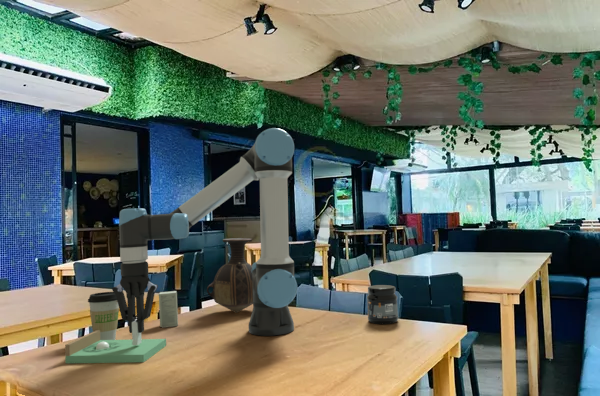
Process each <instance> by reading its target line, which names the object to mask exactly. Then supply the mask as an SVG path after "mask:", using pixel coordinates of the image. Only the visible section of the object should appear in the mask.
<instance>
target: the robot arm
mask: <svg viewBox="0 0 600 396" xmlns="http://www.w3.org/2000/svg"><path fill="white" fill-rule="evenodd" d="M294 154H295V143H294V139H293V138H292V136H291V134H289V133H288V132H287V131H285V130H284V129H281V128H276V127H272V128H267V129H265V130H263V131H262V132H260V133H259V134H258V135H257V137H256V138H255V142H254V143H253V145H252V146H251V148H250V149H249V150H248V151H247V152H246V153H244V154H243V155H242V156H240V158H239V162H238V163H236V164H235V165H233V166H232V167H231V168H229V169H228V170H227V171H225V172H224V173H223V174H222V175H220V176H219V177H217V178H216V179H215V180H213V181H212V182H211V183H210V184H208V185H207V186H205V187H204V188H202V189H201V190H200V191H198V192H196V194H194V195H193V196H192V197H190V198H189V199H188V200H186V201H185V202H184V203H183V204H181V205H179V207H177V208H175V209H174V210H173V211H172V212H170V213H163V214H162V213H161V214H160V213H159V214H148V213H147V210H146V208H141V207H139V208H124V209H121V210H120V211H119V218H118V219H119V220H118V222H119V224H118V229H119V255H120V257H119V259H120V262H122V263H121V264H120V276H121V278H120V281H119V283H118V284H117V285H116V286H113V287H112V288H111V289H112V292H114V293H115V295H116V298H117V302H118V305H119V313H120V316H121V319H122V321H127V322H128V332H129V333H130V334H131V337H132V345H139V344H140V343H142V339H143V338H142V333H143V332H144V331H145V320H146V319H147V320H148V318H150V317H151V313H152V309H153V303H154V298H155V293H156V291H157V289H158V288H159V285H158V284H157V283H156V284H154V283H152V282H151V279H150V278H149V262H148V261H147V260H148V257H149V255H148V253H149V252H148V241H154V240H155V241H156V240H157V241H159V240H180V239H186V238H188V237H189V235H190V229H191V228H192V226H194V225H195V224H197V223H198V222H199V221H201V220H202V219H203V218H205V217H206V216H207V215H209V214H210V213H211V212H213V211H214V210H215V209H217V208H218V207H219V206H221V205H222V204H223V203H225V202H226V201H228V200H229V199H230V198H231V197H232V196H234V195H236V194H237V193H238V192H240V191H241V190H243V189H244V188H245V187H246V186H248V185H249V184H250V183H251V182H253V181H259V206H260V207H259V209H260V210H259V211H260V212H259V214H260V215H259V216H260V217H259V218H260V219H259V221H260V226H259V227H260V257H259V259H257V260H256V262H253V264H251V265H252V271H251V272H252V283H253V304H252V305H253V306H252V311H251V315H250V318H249V322H248V333H249V334H251V335H255V336H263V337H264V336H265V337H272V336H280V335H282V336H283V335H286V334H289V333H291V332H293V331H294V330H295V323H294V320H293V317H292V315H291V314H292V313H291V311H290V308H289V304H291V303H292V302H293V300H294V299H295V297H296V296H297V292H298V283H297V280H296V277H295V261H294V260H293V259H292V258H291V256H290V247H289V245H290V244H289V243H290V242H289V202H288V201H289V198H288V197H289V196H288V195H289V194H288V193H289V192H288V191H289V190H288V178H289V177H290V176H291V175H292V174H293V155H294ZM146 290H147V294H146V300H145V298H144V297H145V291H146ZM124 291H125V292H124ZM125 293H126V295H125ZM125 296H126V297H125Z"/></svg>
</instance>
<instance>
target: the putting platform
mask: <svg viewBox="0 0 600 396" xmlns="http://www.w3.org/2000/svg"><path fill="white" fill-rule="evenodd" d="M103 341H104V342H107V343H108V344H109V348H106V349H101V350H96V346H97V344H98V343H100V342H103ZM166 346H167V338H148V339H147V338H142V343H140V344H139V345H132V339H115V340H100V330H96V331H94V332H93V331H92V332H90V333H87V334H85V335H83V336H81V337H79V338H77V339H74V340H72V341H70V342H68V343H66V344H65V346H64V349H65V350H64V351H65V354H64V355H65V359H64V361H65V364H100V363H101V364H103V363H104V364H108V363H109V364H110V363H112V364H113V363H119V364H120V363H124V364H125V363H145V362H146V361H147V360H149V359H150V358H151V357H153V356H154V355H155V354H157V353H158V352H160V351H161V350H162V349H164V348H165V347H166Z"/></svg>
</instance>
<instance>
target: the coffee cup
mask: <svg viewBox="0 0 600 396" xmlns="http://www.w3.org/2000/svg"><path fill="white" fill-rule="evenodd" d="M87 302H88V303H89V314H90V315H89V316H90V321H91V328H92V329H91V330H92V332H94V331H96V330H100V340H117V339H116V336H117V328H118V321H119V313H120V309H119V305H118V302H117V298H116V295H115V293H114V292H113V291H105V292H104V291H103V292H95V293H92V294H90V295H89V298H88V299H87Z"/></svg>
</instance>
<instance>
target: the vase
mask: <svg viewBox="0 0 600 396" xmlns="http://www.w3.org/2000/svg"><path fill="white" fill-rule="evenodd" d="M222 242H223V243H226V242H227V243H228V245H229V247H230V258H229V261H228V262H227V263H225V264H223V265H222V266H221V267H220V268H218V270H217V272H216V274H215V276H214V279H213V281H212V282H211V283H210V284H209V285H207V287H206V292H207V295H209V297H211V298H212V299H213V300H214V302H215V303H216V304H218V305H220V306H222V307H224V308H226V309H227V310H229V311H231V312H233V313H235V314H236V313H237V314H238V313H240V312H241V311H243V310H245V309H247V308H248V307H251V306H252V305H253V283H252V272H251V271H252V265H253V264H250V263H248V262H247V260H246V259H245V251H244V250H245V246H246V244H247V243H249V242H251V243H252V242H253V238H245V237H244V238H242V237H238V238H237V237H236V238H232V237H231V238H223V239H222ZM210 288H212V292H210V291H209V289H210Z"/></svg>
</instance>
